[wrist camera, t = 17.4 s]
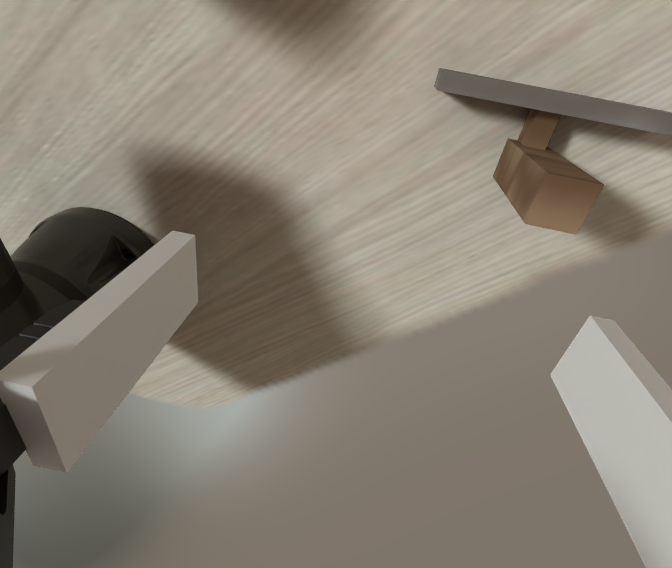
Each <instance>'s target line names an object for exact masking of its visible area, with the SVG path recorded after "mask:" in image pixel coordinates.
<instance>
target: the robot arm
mask: <svg viewBox="0 0 672 568" xmlns="http://www.w3.org/2000/svg"><path fill="white" fill-rule="evenodd" d="M197 303H198V283H197V262H196V242H195V235H192V234H187V233H183V232H178V231H171V232H170V233H169V234H168V235H166V236H165V237H164V238H163V239H162V240H160V241H159V242H158V243H157V244H155V245H153V244H152V243H151V242H150V241H149V240H148V239H147V238H146V237H145V236H144V235H143V234H142V233H141V232H140V231H139V230H137V229H136V228H135V227H133V226H132V225H131V224H129V223H128V222H126V221H124V220H123V219H121V218H119V217H117V216H115V215H113V214H110V213H108V212H105V211H102V210H98V209H93V208H86V207H78V208H71V209H67V210H64V211H62V212H60V213H58V214H55V215H53V216H51V217H49V218H47V219H45V220H44V221H42V222H41V223H40V224H38V225H37V226H36V227H35V229H34V230H33V231H32V232H31V234H30V236H29V238H28V239H27V240H26V241H25V242H24V243H23V244H22V245H21V246H20V247H19V248H18V249H17V250H16V251H15V252H14V253H13V254H12V255H11V256H10V255H9V253H8V251H7V250H6V248H5V246H4V244H3V242H2V240H1V239H0V568H13V540H14V537H13V536H14V506H15V470H14V467H13V463H14V462H15V461H16V460H17V458H18V457H19V456H20V455H21V454H22V453H23V452H24V451H25V450H26V451H27V453H28V455H29V458H30V460H31V462H32V463H33V465H34V466H39V467H43V468H48V469H52V470H57V471H62V472H66V473H67V472H68V470H69V469H70V468H71V467H72V465H73V464H74V463H75V461H76V460H77V459H78V458H79V456H80V455H81V453H82V452H83V451H84V450H85V449H86V447H87V446H88V445H89V443H90V442H91V441H92V439H93V438H94V437H95V436H96V434H97V433H98V431H99V430H100V429H101V428H102V426H103V425H104V424H105V423H106V421H107V420H108V419H109V417H110V416H111V415H112V414H113V412H114V411H115V410H116V408H117V407H118V406H119V404H120V403H121V402H122V400H123V399H124V398H125V397H126V395H127V394H128V393H129V391H130V390H131V389H132V388H133V386H134V385H135V384H136V382H137V381H138V380H139V379H140V377H141V376H142V375H143V373H144V372H145V371H146V369H147V368H148V367H149V366H150V364H151V363H152V362H153V360H154V359H155V358H156V357H157V355H158V354H159V353H160V351H161V350H162V349H163V347H164V346H165V345H166V344H167V342H168V341H169V340H170V338H171V337H172V336H173V334H174V333H175V332H176V331H177V329H178V328H179V327H180V325H181V324H182V323H183V322H184V320H185V319H186V318H187V316H188V315H189V314H190V312H191V311H192V310H193V309H194V307H195V306H196V305H197ZM551 377H552V379H553V381H554V383H555V385H556V387H557V389H558V391H559V394H560V396H561V398H562V400H563V402H564V403H565V406H566V408H567V410H568V412H569V414H570V416H571V418H572V420H573V422H574V424H575V426H576V428H577V430H578V432H579V434H580V436H581V438H582V440H583V442H584V444H585V446H586V448H587V450H588V452H589V454H590V456H591V458H592V460H593V462H594V464H595V466H596V468H597V470H598V472H599V474H600V476H601V478H602V480H603V482H604V484H605V486H606V488H607V490H608V492H609V494H610V496H611V498H612V500H613V502H614V504H615V506H616V508H617V510H618V512H619V514H620V516H621V518H622V520H623V522H624V524H625V526H626V528H627V530H628V532H629V534H630V536H631V538H632V540H633V542H634V544H635V546H636V548H637V550H638V552H639V554H640V557H641V559H642V560H643V563H644V565H645V567H646V568H672V389H671V388H670V387H669V386H668V384H667V383H666V382H665V381H664V380H663V379H662V377H661V376H660V375H659V374H658V373H657V371H656V370H655V369H654V368H653V367H652V365H651V364H650V363H649V362H648V361H647V359H646V358H645V357H644V356H643V355H642V354H641V352H640V351H639V350H638V349H637V347H636V346H635V345H634V344H633V343H632V341H631V340H630V339H629V338H628V337H627V335H625V333H624V332H623V331H622V329H621V328H620V327H619V326H618V325H617V324H616V322H615V321H614V320H610V319H606V318H601V317H596V316H591V315H590V316H589V318H588V319H587V321H586V322H585V324H584V325H583V327H582V328H581V330H580V331H579V333H578V334H577V336H576V337H575V339H574V340H573V342H572V343H571V345H570V346H569V348H568V349H567V351H566V352H565V354H564V355H563V357H562V358H561V360H560V361H559V362H558V364H557V366H556V367H555V368H554V370H553V371H552V373H551Z"/></svg>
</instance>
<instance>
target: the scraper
mask: <svg viewBox="0 0 672 568" xmlns="http://www.w3.org/2000/svg"><path fill="white" fill-rule="evenodd" d="M434 87H435V88H436V89H437V90H438V91H443V92H448V93H454V94H459V95H464V96H469V97H474V98H479V99H484V100H490V101H495V102H500V103H505V104H510V105H515V106H521V107H526V108H531V109H530V111H529V114H528V116H527V119H526V121H525V124H524V126H523V129H522V131H521V133H520V136H519V138H518V141H517V140H512V139H508V140H507V142H506V145H505V147H504V150H503V152H502V155H501V158H500V160H499V163H498V165H497V168H496V170H495V173H494V175H493V178H494V179H495V180H496V182H497V183H498V185H499V186H500V188H501V189H502V191H503V192H504V194H505V195H506V197H507V198H508V199H509V201H510V202H511V204H512V205H513V207H514V208H515V210H516V211H517V213H518V214H519V215H520V217H521V218H522V220H523V221H524V223H525V224H528V225H533V226H538V227H543V228H547V229H552V230H557V231H562V232H566V233H571V234H577V233H578V231H579V229H580V227H581V226H582V224H583V222H584V220H585V218H586V217H587V215H588V213H589V211H590V210H591V208H592V206H593V204H594V203H595V201H596V199H597V197H598V195H599V194H600V192H601V190H602V188H603V187H604V184H602V183H601V182H599V181H598V180H596V179H595V178H593V177H592V176H590V175H589V174H587V173H586V172H584V171H583V170H581V169H580V168H578V167H577V166H575V165H574V164H572V163H571V162H569V161H568V160H566V159H565V158H563V157H562V156H561V155H559V154H558V153H556V152H555V151H553V150H552V149H550V148H549V147H547V145H548V143H549V140H550V138H551V136H552V134H553V132H554V129H555V127H556V125H557V123H558V120H559V118H560V116H561V114H562V115H567V116H572V117H577V118H582V119H588V120H593V121H598V122H603V123H608V124H613V125H618V126H624V127H629V128H634V129H639V130H644V131H649V132H654V133H660V134H665V135H670V136H672V113H671V112H666V111H662V110H656V109H651V108H646V107H641V106H635V105H630V104H625V103H620V102H614V101H609V100H604V99H599V98H593V97H588V96H583V95H578V94H572V93H567V92H562V91H557V90H552V89H546V88H541V87H536V86H531V85H525V84H520V83H515V82H510V81H504V80H499V79H494V78H489V77H483V76H478V75H473V74H468V73H462V72H457V71H452V70H447V69H441V68H439V71H438V75H437V79H436V82H435V86H434Z"/></svg>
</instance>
